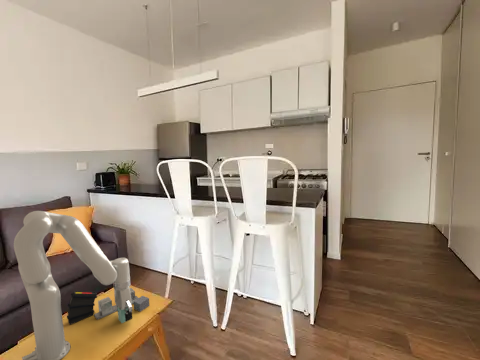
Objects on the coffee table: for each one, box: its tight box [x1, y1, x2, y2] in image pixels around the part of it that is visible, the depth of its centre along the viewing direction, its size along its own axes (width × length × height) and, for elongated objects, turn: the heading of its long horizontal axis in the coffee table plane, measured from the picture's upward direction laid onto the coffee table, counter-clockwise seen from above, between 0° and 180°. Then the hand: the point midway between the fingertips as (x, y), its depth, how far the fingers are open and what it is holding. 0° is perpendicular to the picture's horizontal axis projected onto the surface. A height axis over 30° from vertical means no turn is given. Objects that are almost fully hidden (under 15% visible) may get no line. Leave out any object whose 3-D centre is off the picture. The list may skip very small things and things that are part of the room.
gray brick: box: [133, 295, 150, 313], centre depth 137 cm, size 6×5×4 cm
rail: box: [93, 287, 139, 321], centre depth 137 cm, size 22×5×7 cm, turn 136°
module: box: [117, 305, 128, 324], centre depth 128 cm, size 5×4×7 cm
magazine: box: [66, 290, 98, 326], centre depth 129 cm, size 4×13×15 cm, turn 135°
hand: (124, 315), depth 128 cm, fingers open, 9 cm apart
